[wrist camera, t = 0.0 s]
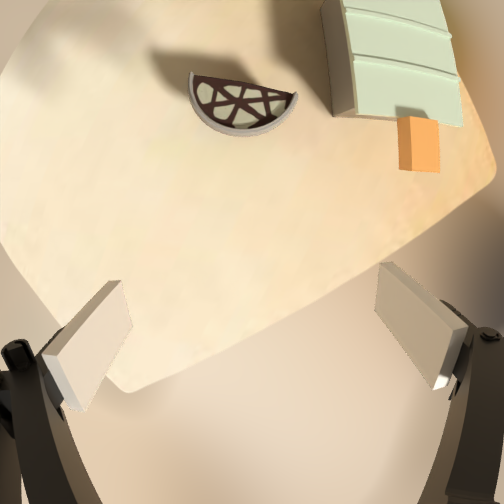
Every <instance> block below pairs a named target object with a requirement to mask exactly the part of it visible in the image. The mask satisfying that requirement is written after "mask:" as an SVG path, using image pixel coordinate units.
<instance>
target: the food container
mask: <svg viewBox="0 0 504 504" xmlns="http://www.w3.org/2000/svg"><path fill="white" fill-rule="evenodd" d="M188 94H189V99H190V102H191V105H192V107H193V109H194V111H195V112H196V114H197V115H198V116H199V118H200V119H201V120H202V121H203V122H204V123H205V124H206V125H208V126H209V127H211V128H212V129H214V130H216V131H218V132H220V133H223V134H226V135H230V136H237V137H250V136H256V135H260V134H263V133H266V132H268V131H270V130H272V129H274V128H276V127H277V126H279V125H280V124H281V123H282V122H283V121H284V120H286V119H287V118H288V116H289V115H290V114H291V112H292V111H293V109H294V107H295V105H296V103H297V100H298V94H297V92H295V93H293V94H291V93H288V92H283V91H278V90H274V89H270V88H266V87H262V86H257V85H253V84H249V83H245V82H239V81H232V80H226V79H219V78H212V77H205V76H198V75H194V74H193V73H192V72H191V73H189V79H188Z"/></svg>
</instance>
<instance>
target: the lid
mask: <svg viewBox="0 0 504 504" xmlns="http://www.w3.org/2000/svg"><path fill="white" fill-rule="evenodd" d="M340 5H341V10H342V15H343V21H344V26H345V32H346V38H347V45H348V52H349V59H350V67H351V75H352V84H353V94H354V105H355V114H357V115H371V116H383V117H393V118H397V128H398V147H399V169H400V170H408V171H420V172H437V173H440V149H439V128H438V124H443V125H449V126H454V127H463V117H462V106H461V97H460V89H459V82H461V80H460V77H458V76H457V70H456V64H455V59H454V54H453V49H452V45H451V41H450V38H452V35H451V34H450V33H449V32H448V28H447V24H446V21H445V17H444V14H443V10H442V7H441V4H440V1H439V0H340Z"/></svg>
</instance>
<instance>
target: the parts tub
mask: <svg viewBox="0 0 504 504" xmlns="http://www.w3.org/2000/svg"><path fill="white" fill-rule="evenodd" d="M320 12H321V18H322V24H323V31H324V38H325V45H326V52H327V61H328V69H329V78H330V88H331V99H332V112H333V117H347V118H364V119H378V120H389V121H397V118H393V117H383V116H371V115H357V114H355V105H354V94H353V84H352V75H351V67H350V59H349V52H348V45H347V38H346V32H345V26H344V21H343V15H342V10H341V5H340V0H325V2H324V3H323V5H322V7H321V9H320Z"/></svg>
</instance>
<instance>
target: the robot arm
mask: <svg viewBox="0 0 504 504" xmlns="http://www.w3.org/2000/svg"><path fill="white" fill-rule="evenodd" d="M375 312H376V313H377V314H378V316H379V317H380V318H381V320H382V321H383V322H384V324H385V325H386V326H387V328H388V329H389V330H390V332H391V333H392V334H393V336H394V337H395V338H396V339H397V341H398V342H399V344H400V345H401V346H402V348H403V349H404V350H405V352H406V353H407V355H408V356H409V357H410V359H411V360H412V362H413V363H414V364H415V366H416V367H417V369H418V370H419V371H420V373H421V374H422V376H423V377H424V379H425V380H426V381H427V383H428V384H429V386H430V387H431V389H432V390H435V389H438V388H441V387H444V386H447V385H448V383H449V381H450V379H451V376H452V373H453V374H454V376H455V377H456V378H457V381H456V383H455V386H454V388H453V390H452V393H451V395H450V397H449V399H448V400H451V399H452V400H451V404H450V408H449V413H448V417H447V420H446V424H445V428H444V432H443V435H442V439H441V442H440V445H439V448H438V451H437V455H436V458H435V461H434V463H433V466H432V469H431V472H430V474H429V477H428V480H427V482H426V485H425V487H424V490H423V492H422V495H421V497H420V499H419V501H418V503H417V504H500V503H498V502H494V494H495V489H496V485H497V479H498V473H499V468H500V462H501V455H502V446H503V437H504V337H503V338H502V335H501V334H500V333H499V332H498V331H496V330H494V329H491V328H488V327H481V328H477V327H476V326H475V325H473V324H472V323H471V322H470V321H469V320H468V319H467V318H466V317H464V316H463V315H461V313H460V312H459V311H456V309H455V308H454V307H453V306H452V305H450V304H449V303H447V302H445V301H443V300H438V299H437V298H436V297H435V296H434V295H432V294H431V293H430V292H429V291H428V290H426V289H425V288H424V287H423V286H422V285H420V284H419V283H418V282H417V281H416V280H415V279H413V278H412V277H411V276H409V275H408V274H407V273H406V272H405V271H403V270H402V269H401V268H400V267H398V266H397V265H396V264H395V263H393V262H384V263H379V274H378V285H377V294H376V303H375ZM132 328H133V324H132V321H131V317H130V313H129V309H128V305H127V301H126V297H125V293H124V289H123V284H122V280H116V281H108V282H107V283H106V284H105V285H104V286H103V287H102V288H101V289H100V290H99V291H98V292H97V293H96V294H95V295H94V297H93V298H92V299H91V300H90V301H89V302H88V303H87V304H86V305H85V306H84V307H83V308H82V309H81V310H80V311H79V312H78V313H77V314H76V316H75V317H74V318H73V319H72V320H71V321H70V322H69V323H68V324H67V325H66V326H64V327H63V328H61V329H60V330H58V331H57V332H56V333H55V334H54V336H53V337H52V338H51V339H50V340H49V341H48V343H47V344H46V345H45V346H44V347H43V348H42V349H41V350H40V351H39V353H38V354H37V355H36V356H34V354H33V352H32V350H31V348H30V345H29V343H28V341H27V340H25V339H18V340H14V341H12V342H10V343H8V344H7V345H5V346H4V347H3V349H2V350H1V355H2V357H3V359H4V361H5V363H6V365H7V367H8V369H9V371H1V370H0V504H22V499H21V474H22V478H23V482H24V487H25V490H26V494H27V498H28V501H29V504H102V502H101V500H100V498H99V496H98V494H97V492H96V490H95V488H94V486H93V484H92V482H91V480H90V478H89V476H88V473H87V471H86V469H85V467H84V465H83V462H82V460H81V457H80V455H79V452H78V450H77V447H76V445H75V442H74V440H73V437H72V434H71V431H70V429H69V426H68V423H67V420H66V417H65V414H64V411H63V409H62V408H61V406H60V404H61V403H62V401H63V400H65V402H66V403H67V405H68V407H69V409H70V410H74V411H80V412H86V410H87V408H88V406H89V404H90V402H91V400H92V398H93V397H94V395H95V393H96V391H97V389H98V387H99V386H100V384H101V382H102V380H103V378H104V376H105V375H106V373H107V371H108V369H109V367H110V366H111V364H112V362H113V360H114V359H115V357H116V355H117V353H118V352H119V350H120V348H121V346H122V345H123V343H124V341H125V340H126V338H127V336H128V334H129V333H130V331H131V329H132Z"/></svg>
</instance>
